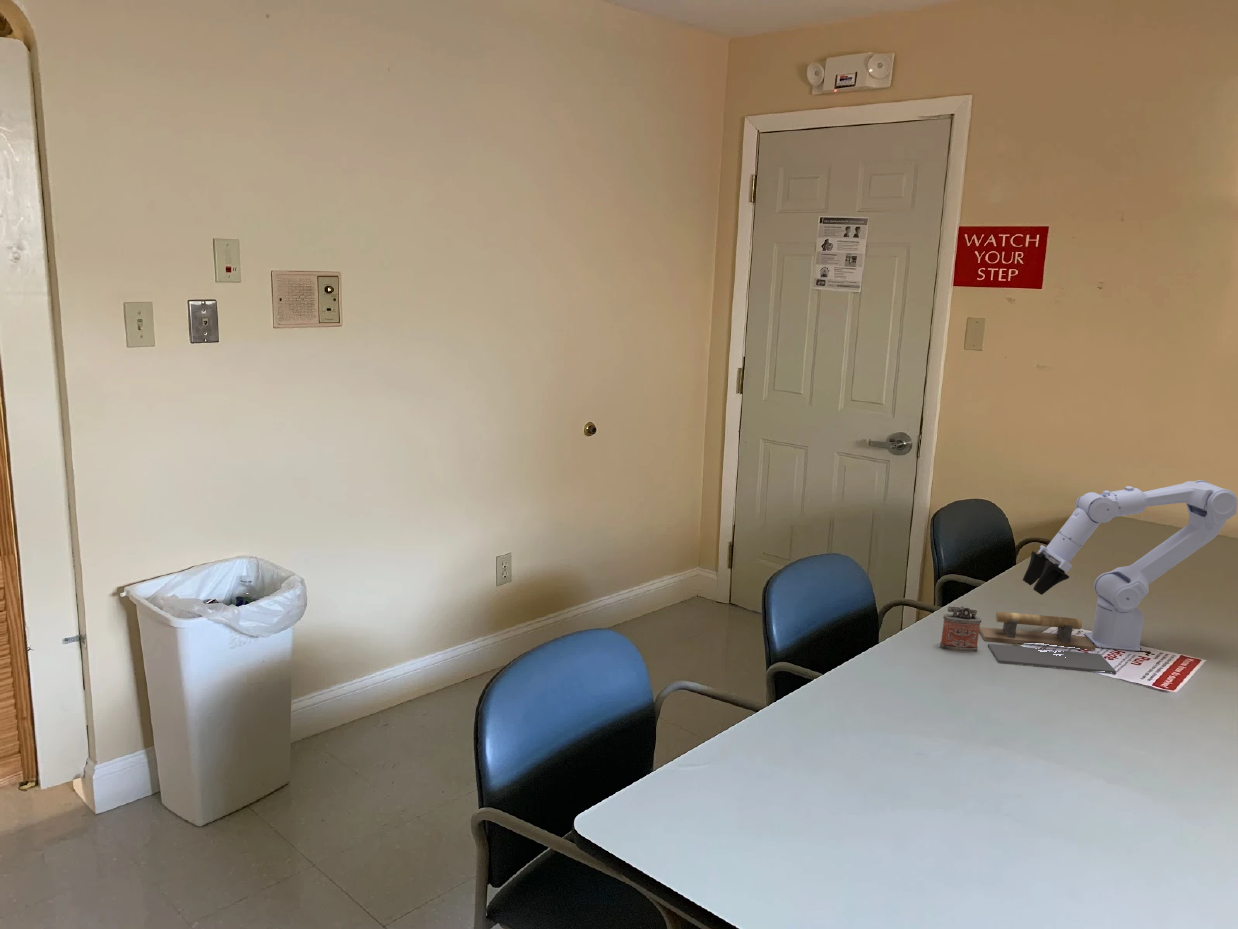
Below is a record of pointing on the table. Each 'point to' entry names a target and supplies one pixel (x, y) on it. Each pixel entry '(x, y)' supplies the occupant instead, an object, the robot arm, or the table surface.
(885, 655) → the table surface
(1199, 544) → the robot arm
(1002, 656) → the mat
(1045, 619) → the rail
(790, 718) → the table surface
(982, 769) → the table surface
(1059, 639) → the hook stand
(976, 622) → the lighter
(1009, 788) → the table surface
